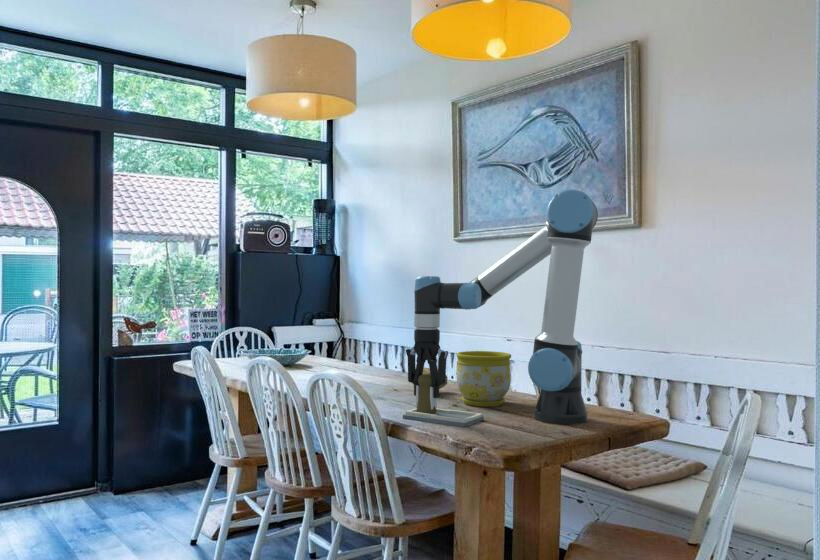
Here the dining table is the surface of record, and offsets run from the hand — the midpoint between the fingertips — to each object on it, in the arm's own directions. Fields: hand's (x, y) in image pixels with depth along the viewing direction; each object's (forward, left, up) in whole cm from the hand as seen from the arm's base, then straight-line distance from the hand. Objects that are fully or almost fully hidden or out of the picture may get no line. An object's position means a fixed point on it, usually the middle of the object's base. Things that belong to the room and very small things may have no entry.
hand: (426, 407), depth 188 cm
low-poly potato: (+20, -36, -3) cm, 41 cm away
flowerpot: (-4, -30, -3) cm, 30 cm away
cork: (0, 0, -1) cm, 1 cm away
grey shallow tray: (-6, 0, -3) cm, 6 cm away
